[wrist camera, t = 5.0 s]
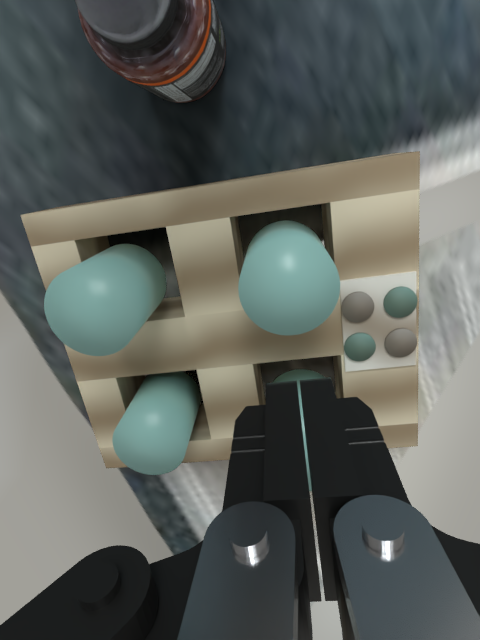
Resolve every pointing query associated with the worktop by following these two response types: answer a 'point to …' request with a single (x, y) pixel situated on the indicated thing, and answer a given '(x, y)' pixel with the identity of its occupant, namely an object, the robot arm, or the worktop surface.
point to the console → (224, 303)
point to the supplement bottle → (158, 43)
